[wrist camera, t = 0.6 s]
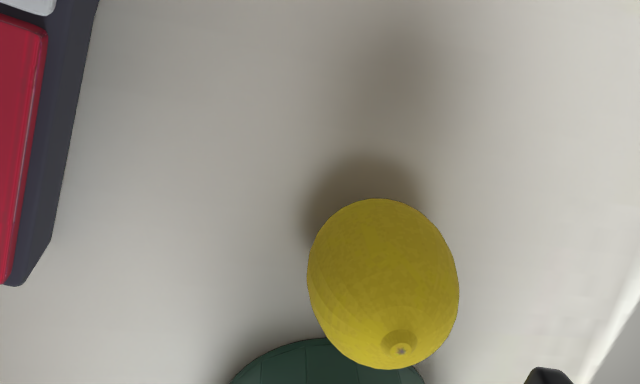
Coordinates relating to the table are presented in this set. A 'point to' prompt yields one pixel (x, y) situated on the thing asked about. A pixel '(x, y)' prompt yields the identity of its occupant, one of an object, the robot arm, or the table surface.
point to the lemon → (383, 284)
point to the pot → (318, 367)
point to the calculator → (36, 120)
